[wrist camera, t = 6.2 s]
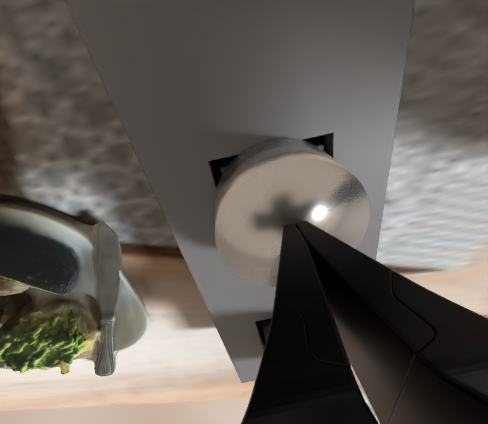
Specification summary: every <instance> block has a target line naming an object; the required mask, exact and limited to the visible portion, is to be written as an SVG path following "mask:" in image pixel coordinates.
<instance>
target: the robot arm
mask: <svg viewBox="0 0 488 424" xmlns="http://www.w3.org/2000/svg"><path fill="white" fill-rule="evenodd" d="M349 361H350V362H349ZM350 364H351V365H350ZM351 366H352V368H353V370H354V372H355V374H356V376H357V378H358V380H359V382H360V384H361V386H362V388H363V390H364V392H365V394H366V396H367V398H368V400H369V402H370V404H371V406H372V408H373V410H374V412H375V414H376V416H377V418H378V420H379V422H380V424H488V319H487V318H485V317H483V316H481V315H479V314H477V313H475V312H473V311H471V310H469V309H467V308H464V307H462V306H460V305H458V304H456V303H454V302H452V301H450V300H448V299H446V298H444V297H442V296H440V295H438V294H436V293H434V292H432V291H430V290H428V289H426V288H424V287H422V286H420V285H419V284H417V283H415V282H413V281H411V280H409V279H408V278H406V277H404V276H402V275H401V274H399V273H397V272H395V271H392V270H391V269H390V268H388V267H386V266H385V265H383V264H381V263H379V262H378V261H376V260H374V259H372V258H371V257H369V256H367V255H365V254H364V253H362V252H360V251H358V250H357V249H355V248H353V247H351V246H350V245H348V244H346V243H345V242H343V241H341V240H339V239H338V238H336V237H334V236H332V235H331V234H329V233H327V232H325V231H324V230H322V229H320V228H318V227H317V226H315V225H313V224H311V223H310V222H308V221H302V222H298V223H296V224H289V225H285V226H284V227H283V233H282V242H281V250H280V258H279V266H278V274H277V283H276V291H275V298H274V306H273V312H272V319H271V324H270V329H269V333H268V337H267V341H266V345H265V349H264V352H263V356H262V359H261V363H260V367H259V370H258V374H257V377H256V381H255V385H254V388H253V392H252V395H251V398H250V401H249V404H248V407H247V410H246V412H245V415H244V418H243V420H242V422H241V424H378V422H377V420H376V419H375V417H374V415H373V413H372V412H371V410H370V408H369V406H368V405H367V403H366V401H365V399H364V397H363V395H362V393H361V391H360V388H359V386H358V384H357V381H356V379H355V376H354V373H353V371H352V369H351Z"/></svg>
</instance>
